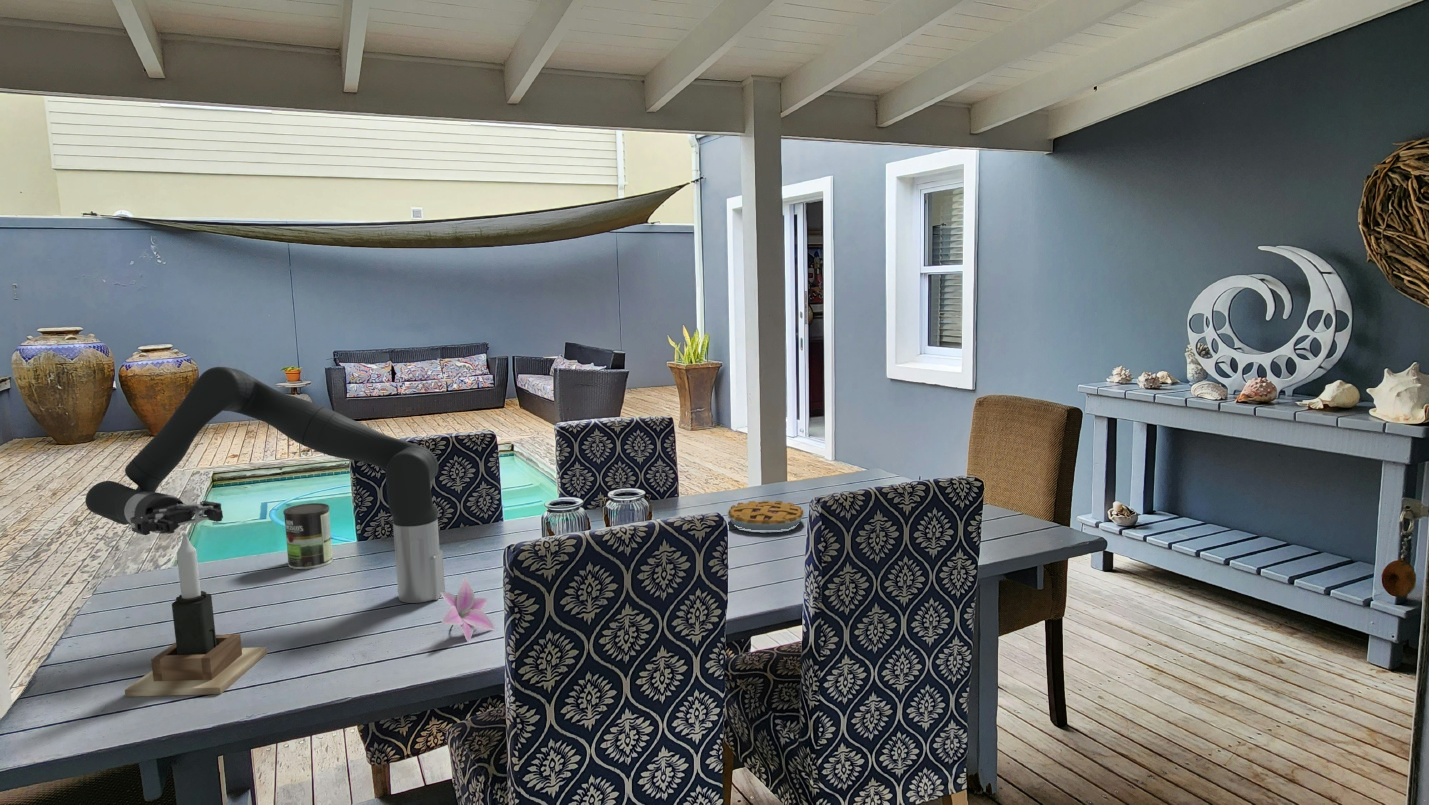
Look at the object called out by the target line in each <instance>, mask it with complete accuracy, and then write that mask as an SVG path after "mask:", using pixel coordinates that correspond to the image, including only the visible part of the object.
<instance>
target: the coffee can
mask: <svg viewBox="0 0 1429 805" xmlns="http://www.w3.org/2000/svg"><path fill="white" fill-rule="evenodd" d="M283 516H284V517H283V518H284V528H285V536H286V537H285V538H286V550H287V551H286V553H287V562H288V565H287V566H289V567H290V568H289V567H288V568H289V569H291V568H293V569H292V570H297V569H305V570H310V569H311V570H313V569H317V568H322V567H325V566H328V565H329V564H331V563H332V562H333V561H334V558H333V547H332V546H333V545H332V534H331V532H332V531H331V520H330V505H329V504H328V503H327V504H326V503H322V502H317V503H316V502H314V503H313V502H311V503H309V502H308V503H301V504H297V505H293V506H289V507H287V508H285V509H284V510H283Z"/></svg>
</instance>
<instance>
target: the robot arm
mask: <svg viewBox="0 0 1429 805" xmlns="http://www.w3.org/2000/svg"><path fill="white" fill-rule="evenodd" d="M222 412H233V413H237V414H240V415H243V416H247V417H250V418H252V419H255V420H258V421H261V422H263V423H266V424H268V425H270V426H272V428H274V429H275V430H277V431H278V432H280V433H282V434H283V435H284V436H286V437H287V438H288V439H290V440H292V441H294V442H296V443H298V444H299V445H301V446H303V447H306V448H307V449H308V448H309V449H311V450H313V451H315V452H318V453H321V454H323V455H326V456H329V457H333V458H334V457H335V458H337V459H344V460H345V459H346V460H351V461H357V462H362V463H366V464H370V465H372V466H375V467H377V468H380V469H381V470H384V471H385V484H386V494H387V496H386V497H387V504H388V509H389V512H390V514H391V517H392V526H393V543H394V554H395V556H394V557H395V567H396V568H395V570H396V571H395V572H396V582H397V583H396V584H397V595H398V601H400V602H402V603H407V604H419V603H420V604H421V603H426V602H429V601H436V600H437V601H438V600H439V598H440V597H441V596H442V595H441V592H446V585H445V583H446V581H445V567H444V565H445V564H444V552H443V550H442V549H440V537H439V520H438V509H437V506H436V505H435V504H434V502H433V500H432V499H433V498H432V487H431V482H432V481H433V480H434V479H435V477H436V476H437V475H438V473H439V472H438V471H439V469H440V468H439V462H438V460H437V458H436V456H435V454H434V453H433V452H432V451H431V450H429V449H428V448H426V447H424V446H421V445H418V444H415V443H412V442H409V441H405V440H403V439H398V438H396V437H393V436H390V435H387V434H385V433H382V432H380V431H377V430H375V429H373V428H372V427H370V426H368V425H366V424H363V423H361V422H359V421H356V420H354V419H352V418H350V417H347V416H345V415H343V414H341V413H339V412H336V411H334V410H332V409H330V408H327V407H325V406H323V405H319V404H318V403H315V402H312V401H309V400H306V399H303V398H301V397H297V396H294V395H289V394H288V393H284V392H282V391H279V390H277V389H275V388H273V387H271V386H269V385H268V384H266V383H264V382H262V381H260V380H259V379H257V378H255V377H254V376H251V375H250V374H248V373H247V372H245V371H243V370H240V369H237V368H231V367H226V366H215V367H214V366H213V367H211V368H208V369H206V370H205V371H203V372H202V373H201V374H200V376H199V377H198V378H197V379H196V381H195V383H193V385H192V386H191V389H190V390H189V391H188V393H187V394H186V396H185V398H184V399H183V400H182V402H181V403H180V405H179V406H178V407H177V408H176V410H175V411H174V412H173V413H172V415H171V416H170V418H168V420H167V422H166V423H165V424H164V425H163V426H162V428H161V429H159V431H158V432H157V433H156V434H155V435H154V437H152V439H150V441H149V442H148V443H147V444H146V445H145V446H144V447H143V448H142V449H140V451H139V452H138V453H137V454H136V455H135V456H134V457H133V458H132V460H130V461H129V462H128V463H127V465H126V466H125V469H124V473H125V475H126V477H127V478H128V479H129V480H130V481H132V482H133V483H134V484H136V485H137V487H136V488H132V487H129V486H127V485H124V484H123V483H119V482H116V481H113V480H103V481H101V482H97V483H96V484H94V485H93V486H91V488H89V490H88V491H87V493H86V496H85V506H86V508H87V509H88V510H89V511H90V512H91V513H93V514H96V515H98V516H99V517H102V518H106V519H107V520H110V521H112V522H115V523H117V524H120V525H122V526H123V525H124V526H126V525H130V528H131V532H134V533H136V534H139V535H142V536H148V535H150V534H151V532H152V533H156V534H158V535H159V534H169V535H171V534H174V533H175V530H176V529H178V528H179V527H180V526H184V525H186V524H198V523H201V522H203V521H208V520H209V521H213V522H217V523H219V522H222V520H223V518H224V516H223V510H222V503H220V502H214V501H208V500H202V501H200V502H199V503H197V504H187V503H184V502H183V501H182V500H181V499H180V498H179V497H177V496H174V495H171V494H167V493H161V492H159V491H158V492H156V491H157V490H158V487H159V485H161V483H162V482H163V481H164V480H165V479H166V478H167V477H168V476H169V475H170V474H171V472H172V471H173V470H174V469H176V467H177V466H178V464H180V463H181V461H182V460H183V459H184V458H185V456H186V455H187V453H188V451H189V449H190V448H191V445H192V444H193V441H194V439H195V438H196V437H197V435H198V434H199V433H200V431H201V430H202V429H204V427H205V426H206V425H207V424H208V423H209V422H210V421H212V420H213V419H214V418H216V416H217V415H219V414H221V413H222ZM194 517H195V518H194Z"/></svg>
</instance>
